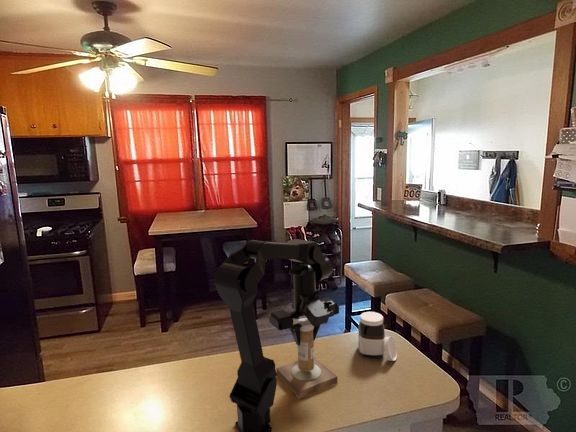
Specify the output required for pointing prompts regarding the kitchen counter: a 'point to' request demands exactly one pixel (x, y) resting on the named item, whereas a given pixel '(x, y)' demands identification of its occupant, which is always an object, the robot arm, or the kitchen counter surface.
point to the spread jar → (375, 337)
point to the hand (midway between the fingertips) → (305, 342)
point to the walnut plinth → (306, 378)
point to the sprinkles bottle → (306, 346)
